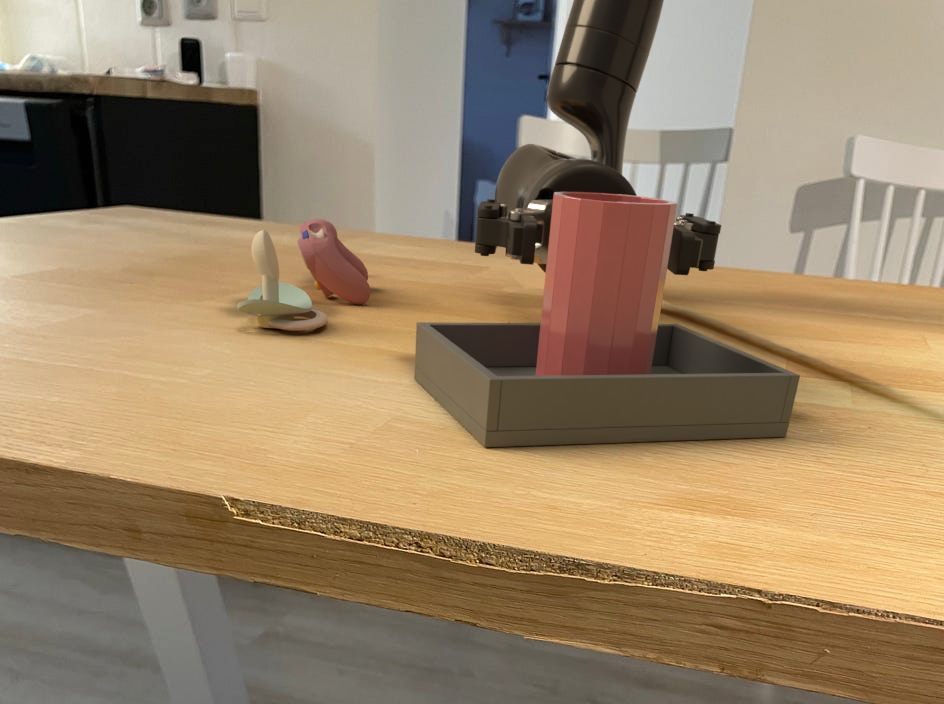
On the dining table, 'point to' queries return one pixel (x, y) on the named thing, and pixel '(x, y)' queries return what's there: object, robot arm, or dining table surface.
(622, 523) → the dining table surface
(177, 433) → the dining table surface
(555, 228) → the tumbler
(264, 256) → the pacifier
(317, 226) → the pink owl figurine
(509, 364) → the shallow grey tray
